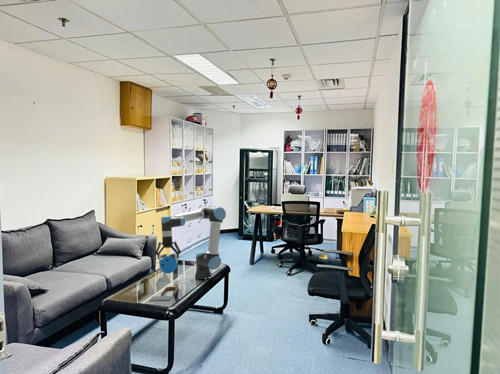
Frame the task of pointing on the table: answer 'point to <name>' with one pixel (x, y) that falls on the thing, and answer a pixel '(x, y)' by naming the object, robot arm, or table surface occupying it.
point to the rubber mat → (161, 298)
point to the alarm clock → (168, 263)
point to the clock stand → (170, 289)
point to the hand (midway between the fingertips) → (168, 262)
